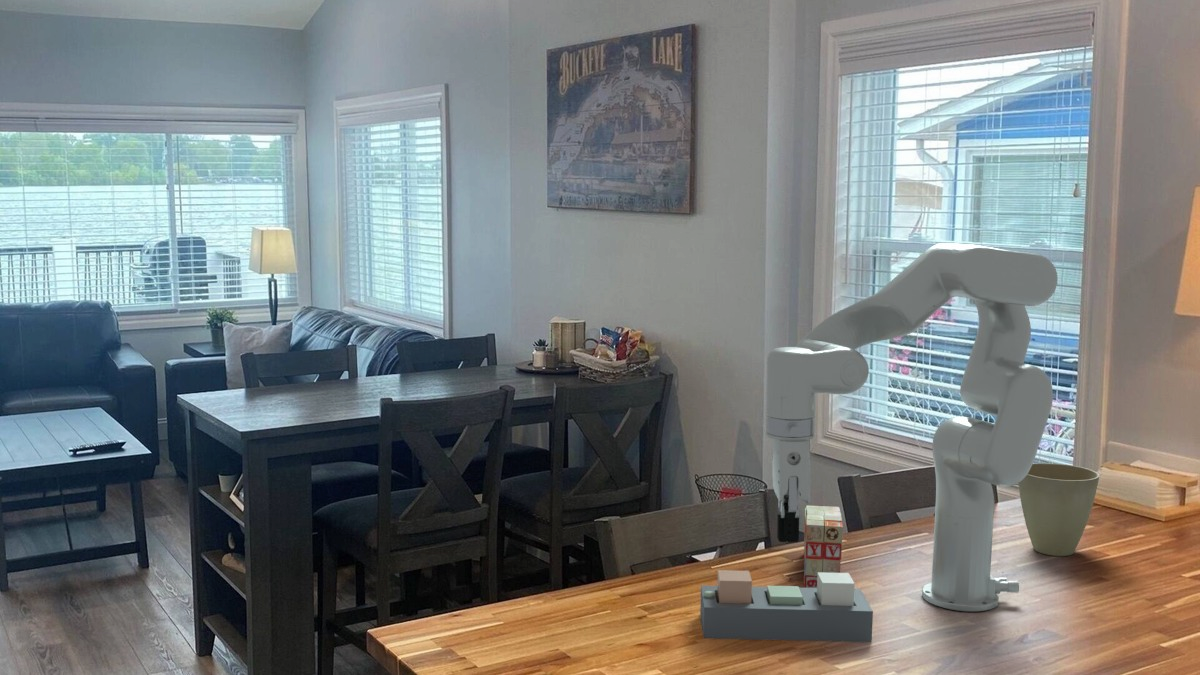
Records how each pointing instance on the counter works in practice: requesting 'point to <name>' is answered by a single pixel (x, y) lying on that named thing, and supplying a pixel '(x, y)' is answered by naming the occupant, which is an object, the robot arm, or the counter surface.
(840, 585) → the key cream
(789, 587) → the key sage
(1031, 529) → the plant pot
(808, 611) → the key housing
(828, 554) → the stack of blocks
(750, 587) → the beige cube
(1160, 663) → the counter surface
